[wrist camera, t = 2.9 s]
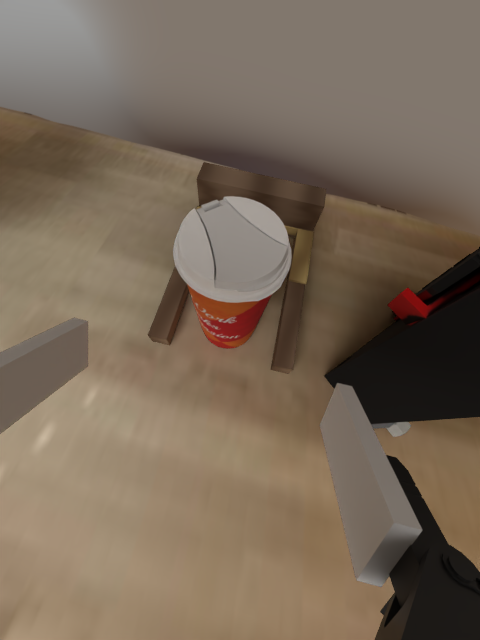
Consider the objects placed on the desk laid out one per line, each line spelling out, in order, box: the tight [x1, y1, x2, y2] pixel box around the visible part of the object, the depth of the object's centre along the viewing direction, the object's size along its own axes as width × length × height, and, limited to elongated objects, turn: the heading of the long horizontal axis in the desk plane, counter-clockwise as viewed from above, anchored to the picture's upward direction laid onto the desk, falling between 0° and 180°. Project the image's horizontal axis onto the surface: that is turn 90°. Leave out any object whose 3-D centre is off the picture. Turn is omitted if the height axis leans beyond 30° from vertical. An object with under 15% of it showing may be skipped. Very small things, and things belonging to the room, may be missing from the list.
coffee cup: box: [173, 196, 292, 348], centre depth 24 cm, size 8×8×15 cm
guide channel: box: [148, 162, 326, 374], centre depth 31 cm, size 16×22×6 cm
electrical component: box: [325, 247, 480, 437], centre depth 22 cm, size 18×10×20 cm, turn 125°
